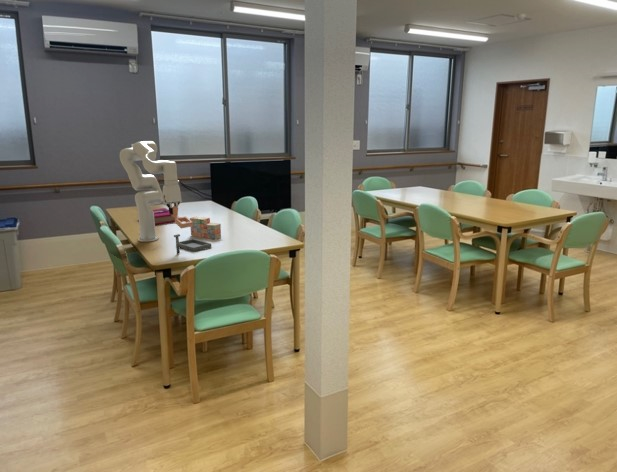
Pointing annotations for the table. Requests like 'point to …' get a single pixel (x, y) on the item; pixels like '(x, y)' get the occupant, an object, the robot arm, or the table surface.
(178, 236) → the stake
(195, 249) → the tray
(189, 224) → the orange scoop
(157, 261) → the table surface
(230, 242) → the table surface
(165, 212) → the book
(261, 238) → the table surface
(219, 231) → the stack of blocks
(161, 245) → the table surface
